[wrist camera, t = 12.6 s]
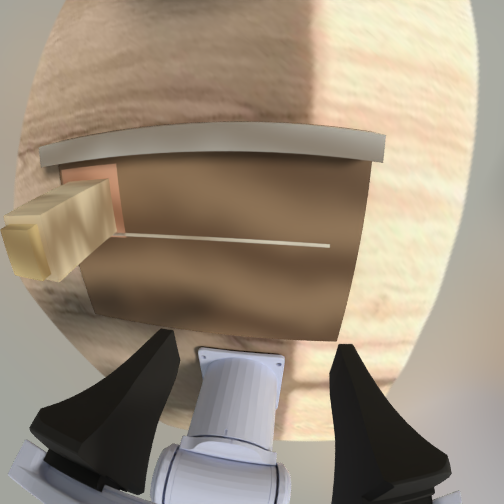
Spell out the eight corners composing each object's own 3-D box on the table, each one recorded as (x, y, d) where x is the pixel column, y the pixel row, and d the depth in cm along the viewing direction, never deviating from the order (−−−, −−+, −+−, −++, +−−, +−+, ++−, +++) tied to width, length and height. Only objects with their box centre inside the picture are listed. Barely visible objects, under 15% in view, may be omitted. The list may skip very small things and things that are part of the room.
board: (335, 331, 23) (339, 359, 20) (101, 306, 25) (85, 326, 22) (368, 131, 15) (385, 135, 12) (65, 139, 17) (38, 147, 15)
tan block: (116, 231, 19) (51, 290, 12) (78, 229, 20) (13, 281, 13) (108, 178, 17) (30, 221, 10) (69, 181, 18) (-6, 221, 11)
